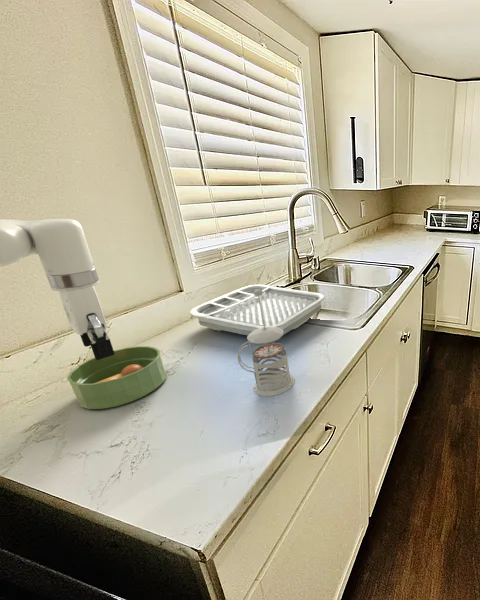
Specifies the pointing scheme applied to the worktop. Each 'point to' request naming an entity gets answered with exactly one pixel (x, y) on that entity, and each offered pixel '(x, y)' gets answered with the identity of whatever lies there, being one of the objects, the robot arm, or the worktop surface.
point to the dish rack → (258, 309)
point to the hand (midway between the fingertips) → (99, 350)
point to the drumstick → (124, 372)
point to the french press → (272, 377)
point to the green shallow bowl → (120, 388)
